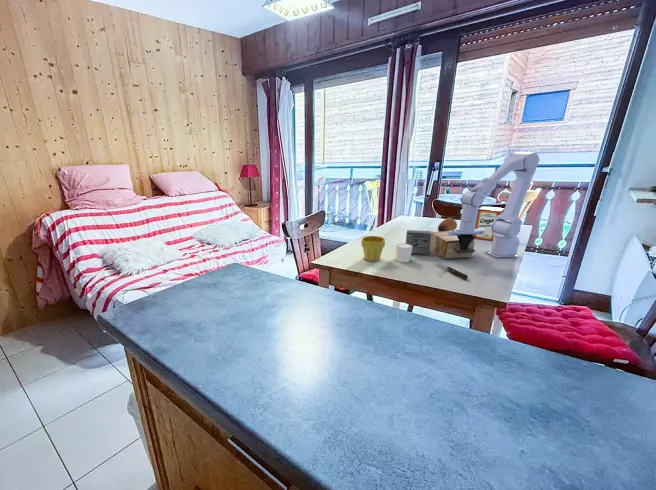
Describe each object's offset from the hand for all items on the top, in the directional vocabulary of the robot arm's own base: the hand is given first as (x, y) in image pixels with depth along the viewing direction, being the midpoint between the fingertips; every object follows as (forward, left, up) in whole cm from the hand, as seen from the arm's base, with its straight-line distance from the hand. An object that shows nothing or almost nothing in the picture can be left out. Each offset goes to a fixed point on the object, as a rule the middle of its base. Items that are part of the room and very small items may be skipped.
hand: (463, 250), depth 142 cm
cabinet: (0, -11, -5) cm, 12 cm away
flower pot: (+37, -9, -5) cm, 38 cm away
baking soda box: (-29, -30, -5) cm, 42 cm away
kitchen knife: (+11, +11, -5) cm, 16 cm away
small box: (+14, -14, -5) cm, 20 cm away
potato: (-15, -42, -1) cm, 45 cm away
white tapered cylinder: (+24, -5, -5) cm, 25 cm away
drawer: (0, -6, -4) cm, 7 cm away
